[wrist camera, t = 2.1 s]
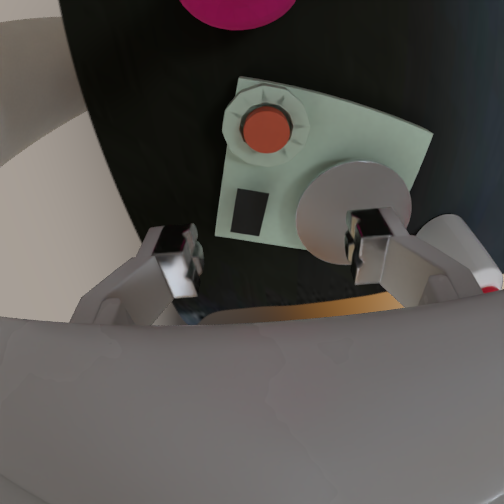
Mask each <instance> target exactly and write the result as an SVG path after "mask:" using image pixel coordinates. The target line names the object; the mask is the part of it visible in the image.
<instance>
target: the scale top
mask: <svg viewBox="0 0 504 504" xmlns="http://www.w3.org/2000/svg"><path fill="white" fill-rule="evenodd" d="M268 197H269V193H264V192H258V191H252V190H246V189H240V188H237V194H236V200H235V206H234V212H233V218H232V224H231V230H230V232H233V233H240V234H246V235H253V236H259V235H260V231H261V227H262V223H263V218H264V214H265V210H266V206H267V202H268ZM411 205H412V204H411V196H410V193H409V190H408V188H407V186H406V184H405V182H404V181H403V179H402V178H401V177H400V176H399V175H398V174H397V173H396V172H395V171H394V170H393V169H391V168H390V167H388V166H386V165H385V164H382V163H379V162H377V161H372V160H365V159H356V160H348V161H344V162H341V163H337V164H335V165H333V166H331V167H328V168H327V169H325V170H324V171H322V172H321V173H319V174H318V175H317V176H316V177H314V178H313V179H312V181H311V182H310V183H309V184H308V185H307V186H306V188H305V189H304V190H303V192H302V194H301V196H300V198H299V201H298V203H297V207H296V212H295V224H296V230H297V234H298V236H299V239H300V241H301V242H302V244H303V245H304V246H305V248H306V249H307V250H308V251H309V252H310V253H311V254H313V255H314V256H316V257H317V258H319V259H321V260H323V261H326V262H329V263H334V264H341V265H351V263H350V262H349V261H347V257H346V253H345V244H344V239H345V232H346V231H347V230H348V227H347V224H346V214H347V211H349V210H360V209H372V208H382V207H391V208H393V210H394V211H395V213H396V214H397V216H398V217H399V219H400V221H401V222H402V224H403V225H404V227H405V229H406V228H407V225H408V223H409V220H410V216H411Z"/></svg>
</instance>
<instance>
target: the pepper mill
mask: <svg viewBox="0 0 504 504" xmlns="http://www.w3.org/2000/svg"><path fill="white" fill-rule="evenodd" d="M295 1H296V0H180V2H181V3H182V5H183V6H184V7H185V8H186V9H187V10H188V11H189V12H190V13H191V14H192V15H193V16H194V17H196V18H197V19H199V20H200V21H202V22H204V23H206V24H208V25H210V26H213V27H217V28H221V29H227V30H246V29H253V28H257V27H261V26H264V25H267V24H269V23H271V22H273V21H275V20H277V19H278V18H280V17H281V16H283V15H284V14H285V13H286V12H287V11H288V10H289V9H290V8H291V7H292V5H293V4H294V3H295Z"/></svg>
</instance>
